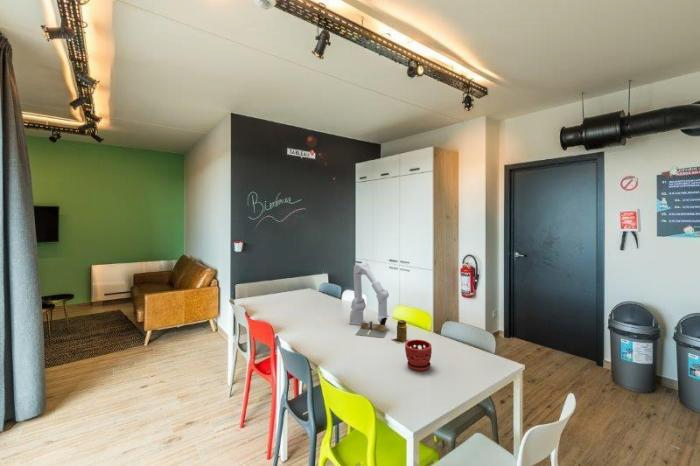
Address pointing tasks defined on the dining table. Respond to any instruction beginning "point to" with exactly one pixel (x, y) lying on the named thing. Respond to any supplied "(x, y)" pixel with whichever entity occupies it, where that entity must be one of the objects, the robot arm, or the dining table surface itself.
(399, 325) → the condiment
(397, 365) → the dining table surface
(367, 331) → the card
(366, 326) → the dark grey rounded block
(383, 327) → the fence panel
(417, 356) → the plant pot
